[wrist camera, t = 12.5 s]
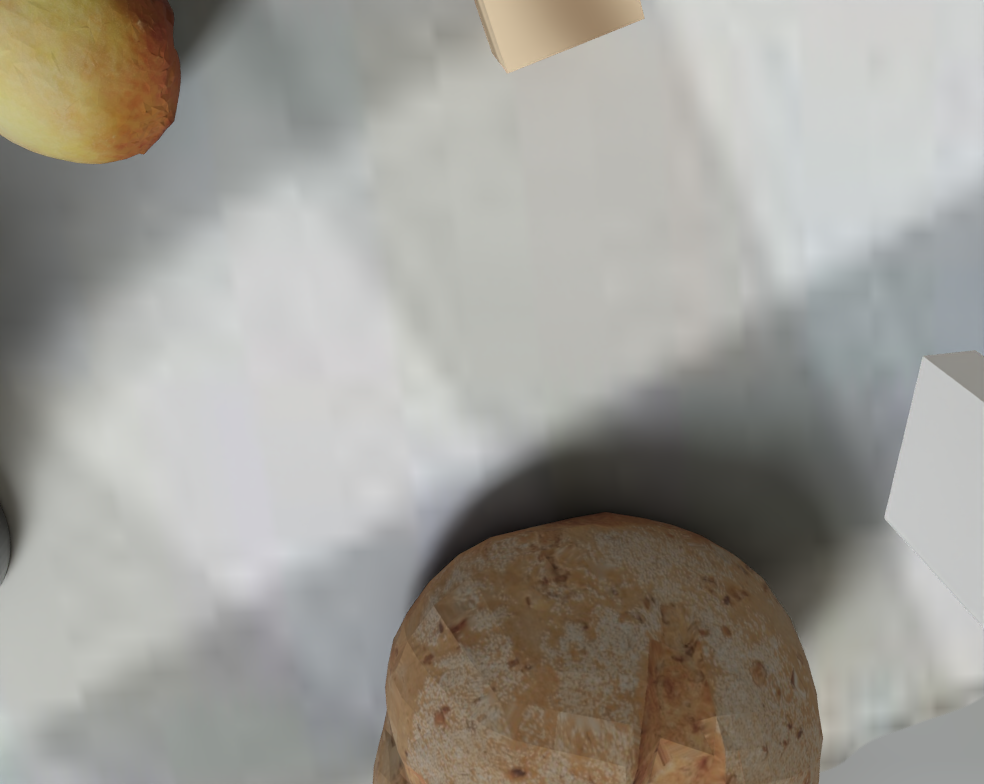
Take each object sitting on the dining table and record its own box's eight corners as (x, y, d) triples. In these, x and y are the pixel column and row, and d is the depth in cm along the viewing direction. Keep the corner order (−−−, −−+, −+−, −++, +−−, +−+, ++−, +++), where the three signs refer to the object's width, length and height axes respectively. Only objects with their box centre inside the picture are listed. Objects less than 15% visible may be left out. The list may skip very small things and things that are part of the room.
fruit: (130, -142, 29) (51, -158, 22) (253, 89, 33) (219, 136, 26) (-59, -48, 30) (-192, -36, 23) (85, 167, 34) (8, 232, 27)
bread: (663, 817, 60) (740, 1067, 47) (335, 793, 55) (319, 1066, 42) (828, 527, 48) (992, 753, 35) (429, 460, 43) (449, 698, 30)
